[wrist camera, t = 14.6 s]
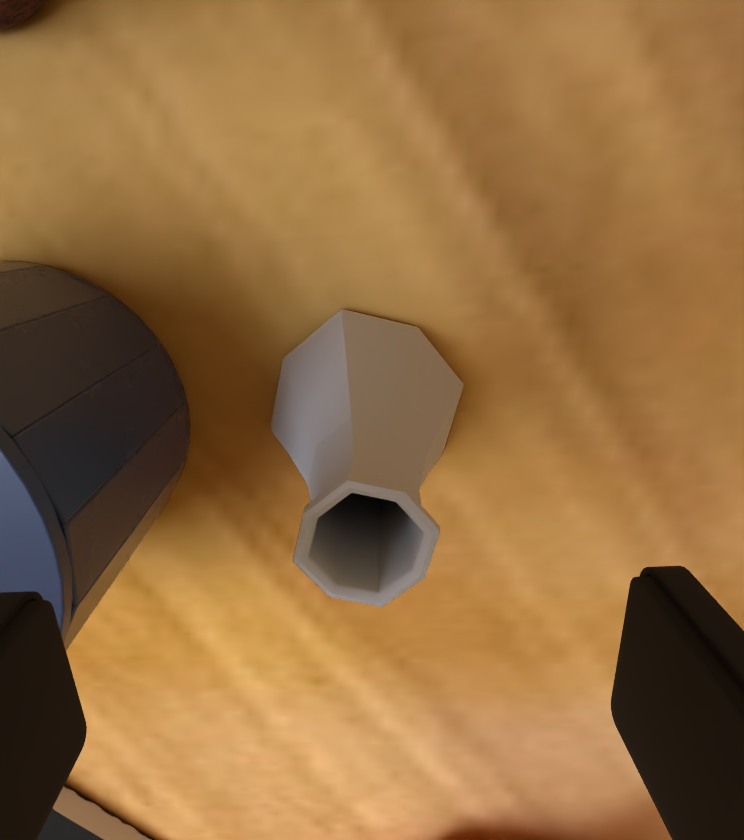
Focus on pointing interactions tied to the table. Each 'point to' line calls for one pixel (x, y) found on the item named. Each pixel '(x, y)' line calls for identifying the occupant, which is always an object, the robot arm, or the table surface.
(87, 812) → the smartphone
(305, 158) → the table surface
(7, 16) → the can
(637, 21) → the table surface
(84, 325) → the pot
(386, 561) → the flask
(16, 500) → the pot lid
